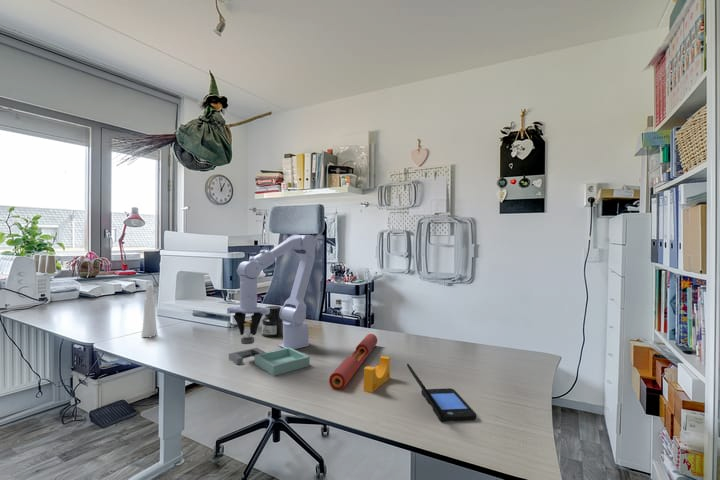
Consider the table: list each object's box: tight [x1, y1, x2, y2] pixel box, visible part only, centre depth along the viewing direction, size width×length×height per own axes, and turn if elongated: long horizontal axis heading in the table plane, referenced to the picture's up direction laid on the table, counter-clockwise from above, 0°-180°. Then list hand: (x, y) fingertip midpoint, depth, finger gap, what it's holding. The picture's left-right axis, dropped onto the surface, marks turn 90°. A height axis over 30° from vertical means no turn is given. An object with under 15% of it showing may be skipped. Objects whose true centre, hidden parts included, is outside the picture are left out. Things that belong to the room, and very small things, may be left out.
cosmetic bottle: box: [140, 283, 158, 338], centre depth 148 cm, size 6×6×22 cm
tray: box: [254, 347, 311, 377], centre depth 115 cm, size 13×13×3 cm
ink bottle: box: [261, 305, 283, 338], centre depth 151 cm, size 10×9×12 cm
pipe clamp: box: [363, 355, 391, 394], centre depth 101 cm, size 12×4×6 cm, turn 151°
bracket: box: [228, 347, 266, 365], centre depth 122 cm, size 10×7×2 cm
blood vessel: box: [328, 333, 378, 390], centre depth 117 cm, size 42×5×5 cm, turn 165°
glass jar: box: [240, 320, 255, 345], centre depth 121 cm, size 4×4×7 cm
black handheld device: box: [406, 363, 477, 423], centre depth 88 cm, size 16×14×9 cm
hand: (248, 334), depth 121 cm, fingers closed on glass jar, 4 cm apart
